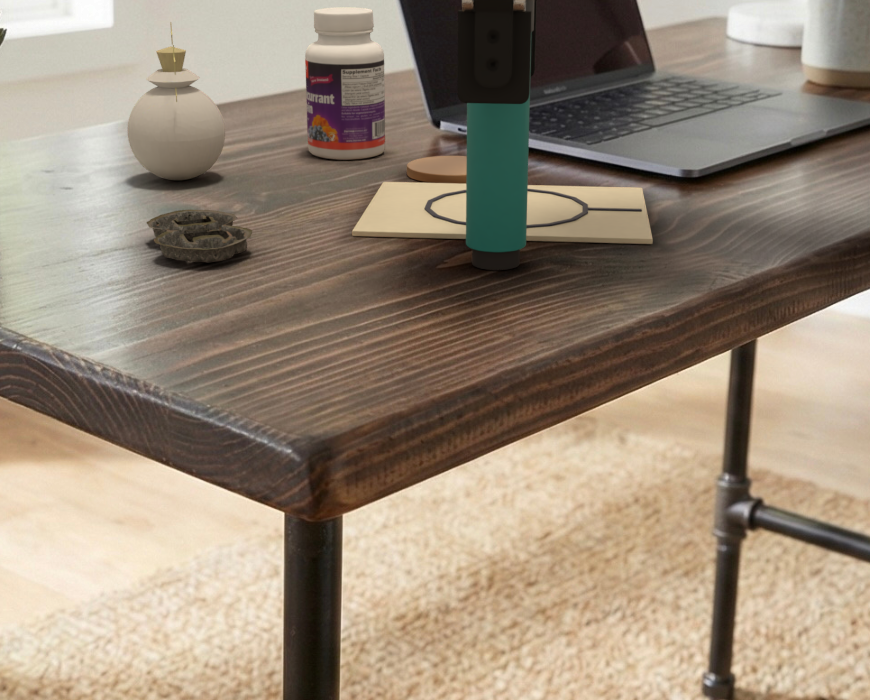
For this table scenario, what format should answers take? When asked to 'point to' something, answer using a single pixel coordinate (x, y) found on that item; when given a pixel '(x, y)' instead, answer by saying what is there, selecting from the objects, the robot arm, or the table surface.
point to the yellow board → (546, 213)
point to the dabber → (497, 180)
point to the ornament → (175, 122)
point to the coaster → (439, 169)
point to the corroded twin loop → (199, 235)
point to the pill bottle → (345, 86)
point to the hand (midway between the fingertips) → (498, 86)
